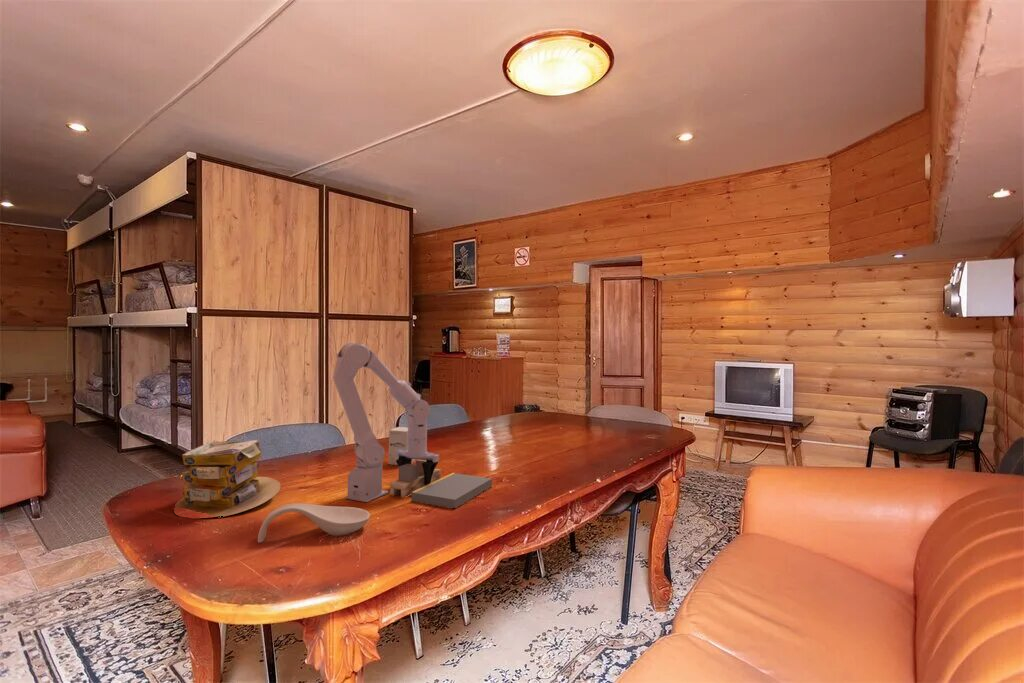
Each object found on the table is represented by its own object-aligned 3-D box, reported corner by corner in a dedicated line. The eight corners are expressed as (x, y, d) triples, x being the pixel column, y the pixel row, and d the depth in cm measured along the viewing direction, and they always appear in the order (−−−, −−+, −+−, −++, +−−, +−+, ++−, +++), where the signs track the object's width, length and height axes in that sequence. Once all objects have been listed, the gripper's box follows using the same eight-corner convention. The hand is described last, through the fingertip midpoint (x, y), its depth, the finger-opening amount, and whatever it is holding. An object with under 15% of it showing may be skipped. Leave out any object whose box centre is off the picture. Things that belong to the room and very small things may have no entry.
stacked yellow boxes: (218, 525, 114) (219, 455, 114) (150, 511, 123) (151, 446, 123) (299, 495, 136) (300, 437, 137) (237, 485, 146) (238, 430, 146)
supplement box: (387, 464, 171) (388, 429, 171) (398, 460, 178) (398, 426, 178) (406, 466, 169) (406, 431, 169) (416, 461, 176) (416, 427, 176)
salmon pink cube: (426, 474, 146) (426, 461, 146) (415, 473, 148) (416, 460, 148) (433, 471, 150) (434, 458, 150) (423, 470, 151) (423, 457, 151)
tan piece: (404, 499, 135) (404, 485, 135) (390, 496, 137) (390, 482, 137) (440, 481, 152) (440, 469, 152) (427, 479, 154) (427, 467, 154)
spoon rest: (367, 519, 119) (368, 490, 119) (371, 537, 108) (372, 505, 108) (261, 531, 111) (262, 500, 111) (254, 552, 100) (255, 518, 100)
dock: (454, 509, 127) (454, 499, 127) (411, 501, 132) (411, 491, 132) (491, 486, 147) (491, 478, 147) (452, 480, 152) (452, 472, 152)
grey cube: (409, 482, 138) (409, 468, 138) (398, 480, 140) (398, 466, 140) (417, 478, 142) (418, 465, 142) (406, 476, 143) (407, 463, 143)
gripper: (444, 438, 145) (444, 482, 145) (405, 434, 151) (405, 476, 151) (431, 442, 139) (431, 489, 139) (391, 437, 145) (391, 482, 145)
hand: (416, 483), depth 145 cm, fingers open, 7 cm apart
